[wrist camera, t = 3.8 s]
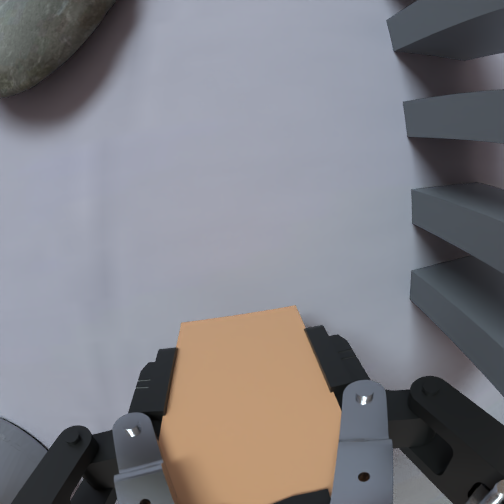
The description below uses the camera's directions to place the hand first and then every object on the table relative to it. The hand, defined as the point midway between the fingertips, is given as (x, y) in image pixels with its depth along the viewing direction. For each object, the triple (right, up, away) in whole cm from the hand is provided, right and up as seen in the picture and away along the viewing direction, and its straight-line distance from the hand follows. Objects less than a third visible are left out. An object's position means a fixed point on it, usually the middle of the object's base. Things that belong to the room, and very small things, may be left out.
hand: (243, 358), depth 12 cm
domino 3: (+10, +11, +2) cm, 15 cm away
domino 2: (+10, +15, 0) cm, 18 cm away
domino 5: (+12, +3, +4) cm, 13 cm away
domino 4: (+11, +7, +3) cm, 13 cm away
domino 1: (0, +1, +2) cm, 2 cm away
